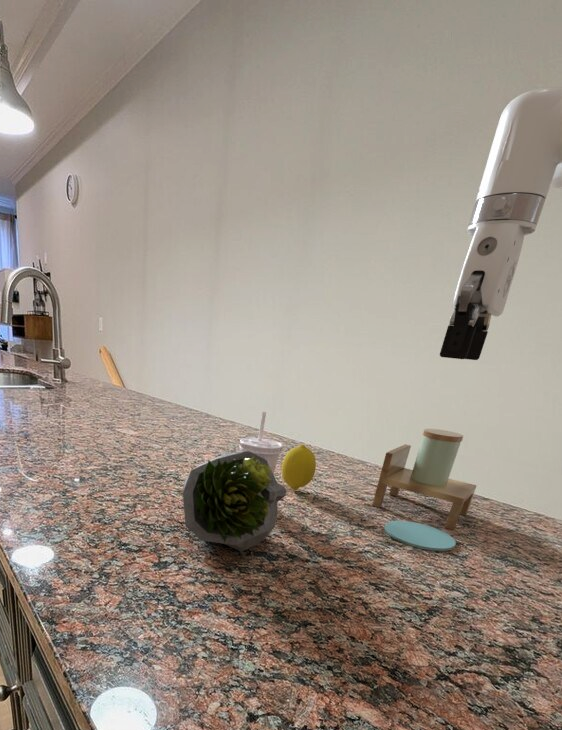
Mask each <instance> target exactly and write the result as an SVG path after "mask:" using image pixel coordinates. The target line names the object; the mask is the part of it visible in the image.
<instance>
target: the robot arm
mask: <svg viewBox="0 0 562 730" xmlns="http://www.w3.org/2000/svg"><path fill="white" fill-rule="evenodd" d="M494 133H495V134H494V137H493V141H492V143H491V147H490V150H489V154H488V157H487V161H486V165H485V167H484V171H483V174H482V179H481V181H480V184H479V188H478V191H477V195H476V199H475V202H474V205H473V209H472V212H471V216H470V219H469V222H468V226H467V230H466V233H467V234H468V235H470V236H472V239H471V242H470V243H469V248H468V251H467V254H466V256H465V259H464V262H463V265H462V268H461V272H460V276H459V278H458V282H457V285H456V289H455V292H454V296H453V300H452V301H453V302H452V307H453V309H454V310H453V313H452V315H451V317H450V319H449V325H447V328H446V332H445V335H444V338H443V341H442V345H441V348H440V352H439V357H441V358H446V359H456V360H471V361H479V359H480V357H481V354H482V351H483V348H484V345H485V342H486V339H487V336H488V334H489V328H490V323H491V319H492V316H493V317H496V318H497V317H499V316H501V315H503V313H504V310H505V307H506V304H507V300H508V296H509V294H510V290H511V286H512V283H513V280H514V277H515V273H516V270H517V266H518V264H519V261H520V260H519V259H520V256H521V252H522V248H523V244H524V239H525V236H528V235H530V234H533V233H534V232H535V231H536V229H537V225H538V223H539V219H540V217H541V214H542V211H543V209H544V205H545V202H546V199H547V196H548V193H549V190H550V187H552V188H555V189H562V86H546V87H541V88H536V89H531V90H529V91H526V92H524V93H521V94H519V95H518V96H516V97H515V98H513V99H511V101H510V102H509V103H508V104H507V105H506V106H505V107H504V109H503V111H502V113H501V115H500V118H499V120H498V123H497V125H496V130H495V132H494Z"/></svg>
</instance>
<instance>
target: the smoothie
mask: <svg viewBox="0 0 562 730" xmlns="http://www.w3.org/2000/svg"><path fill="white" fill-rule="evenodd" d="M266 415H267V412H266V411H261V417H260V425H259V430H258V437H243V438H241V439H240V440H239V445H238V447H239V448H240V452H244V451H250V452H252V453H255V454H257V455H259V456H262V457H264V458H265V459H266V460H267V462H268V464H269V466H270V468H271V470H272V472H273V474H274V473H275V471H276V467H277V464H278V461H279V458H280V454H282V453H283V448H284V445H283V444H282V443H281V442H280V441H277V440H273V439H269V438H263V434H264V429H265V422H266ZM274 475H275V474H274Z"/></svg>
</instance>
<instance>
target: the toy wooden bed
mask: <svg viewBox="0 0 562 730" xmlns="http://www.w3.org/2000/svg"><path fill="white" fill-rule="evenodd" d="M411 447H412V445H410V444H402V445H400V446H398V447H396V448H393V449H391V450H388V451H386V452H385V456H384V459H383V463H382V467H381V471H380V473H379V474H380V475H379V478H378V481H377V486H376V488H375V493H374V497H373V501H372V504H371V506H372V507H375V508H381V507H382V506H383V503H384V499H385V495H386V491H387V488H388V486H390V490H389V494H388V495H389V496H393V497H398V496H399V494H400V490H404V491H409V492H411V493H416V494H419V495H423V496H428V497H431V498H433V499H439V500H442V501H446V502H449V503H451V506H450V510H449V512H448V516H447V519H446V522H445V525H444V528H445V529H448V530H452V531H455V529H456V526H457V523H458V520H459V517H460V515H461V516H464V517H465V516H466V515H467V514H468V512H469V508H470V506H471V503H472V500H473V497H474V494H475V491H476V489H477V486H478V485H477V484H472V483H469V482H464V481H461V480H457V479H452V478H449V479H448V482H447V485H446V486H431V485H426V484H422V483H419V482H416V481H414V480H412V479H411V474H412V471H413V469H410V468H407V467H406V465H407V461H408V459H409V455H410V451H411Z"/></svg>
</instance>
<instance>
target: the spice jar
mask: <svg viewBox="0 0 562 730" xmlns="http://www.w3.org/2000/svg"><path fill="white" fill-rule="evenodd" d="M421 437H422V438H421V440H420V444H419V447H418V451H417V455H416V458H415V461H414V464H413V467H412V470H413V471H412V474H411V479H412V480H414V481H416V482H419V483H422V484H426V485H431V486H446V485H447V482H448V479H450V477H451V474H452V473H451V472H452V469H453V466H454V465H455V461H456V457H457V455H458V452H459V448H460V446H461V442H463V439H464V434H462V433H459V432H455V431H451V430H445V429H437V428H424V429H423V432H422V436H421Z"/></svg>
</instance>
